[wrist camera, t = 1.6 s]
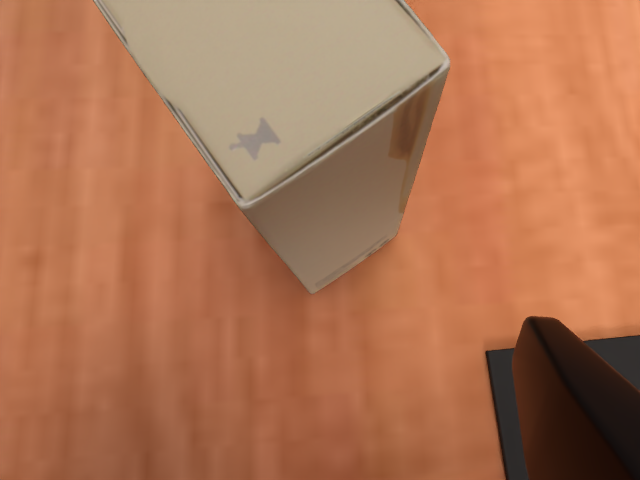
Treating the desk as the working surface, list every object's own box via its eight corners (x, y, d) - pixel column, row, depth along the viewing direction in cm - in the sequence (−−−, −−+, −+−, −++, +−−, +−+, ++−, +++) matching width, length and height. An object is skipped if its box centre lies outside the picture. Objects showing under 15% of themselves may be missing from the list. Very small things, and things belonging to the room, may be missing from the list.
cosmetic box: (400, 234, 20) (478, 74, 8) (310, 298, 20) (250, 232, 8) (307, 112, 21) (254, -185, 9) (221, 171, 21) (50, -58, 9)
